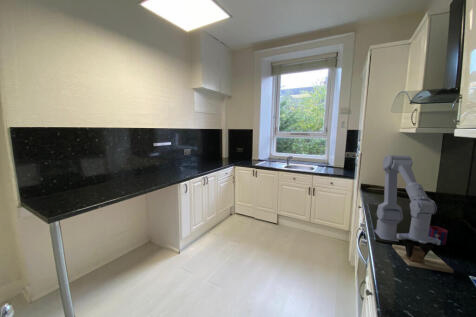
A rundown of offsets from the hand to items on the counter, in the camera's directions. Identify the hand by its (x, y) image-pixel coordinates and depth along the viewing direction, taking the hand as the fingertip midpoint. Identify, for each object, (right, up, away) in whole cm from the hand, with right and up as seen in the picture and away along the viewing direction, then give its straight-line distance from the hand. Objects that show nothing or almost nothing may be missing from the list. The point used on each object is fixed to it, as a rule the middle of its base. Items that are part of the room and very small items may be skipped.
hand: (414, 256), depth 84 cm
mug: (+27, 0, +17) cm, 32 cm away
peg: (0, -2, 0) cm, 2 cm away
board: (+4, -2, +2) cm, 5 cm away
